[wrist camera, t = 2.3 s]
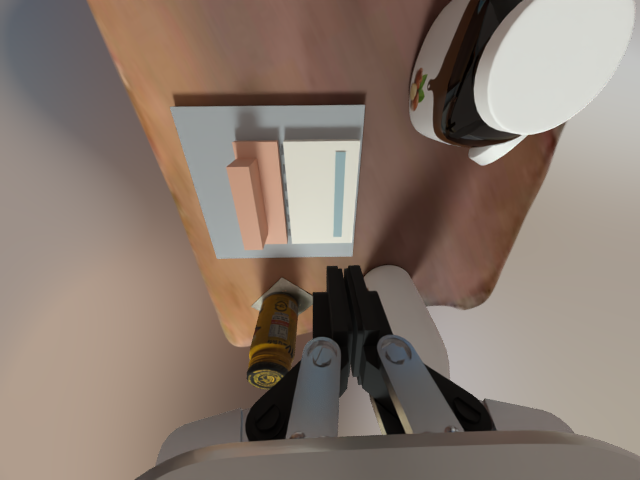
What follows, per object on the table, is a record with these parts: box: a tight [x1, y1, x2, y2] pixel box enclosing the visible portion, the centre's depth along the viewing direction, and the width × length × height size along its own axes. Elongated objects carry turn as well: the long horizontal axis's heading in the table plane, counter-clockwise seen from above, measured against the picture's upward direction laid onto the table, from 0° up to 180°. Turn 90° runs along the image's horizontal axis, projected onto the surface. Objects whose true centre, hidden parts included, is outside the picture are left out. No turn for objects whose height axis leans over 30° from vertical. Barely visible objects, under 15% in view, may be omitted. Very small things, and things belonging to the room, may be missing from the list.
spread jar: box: [409, 0, 636, 165], centre depth 17 cm, size 12×11×12 cm
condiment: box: [247, 278, 313, 390], centre depth 33 cm, size 7×8×12 cm
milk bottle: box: [364, 265, 450, 380], centre depth 27 cm, size 8×8×20 cm
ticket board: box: [170, 105, 365, 259], centre depth 26 cm, size 18×19×2 cm
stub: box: [226, 140, 288, 250], centre depth 25 cm, size 12×4×4 cm, turn 0°
